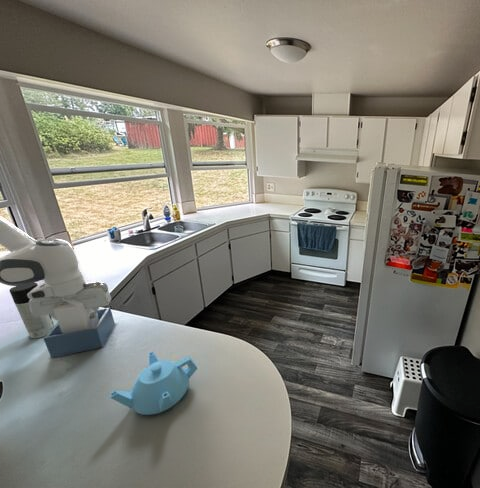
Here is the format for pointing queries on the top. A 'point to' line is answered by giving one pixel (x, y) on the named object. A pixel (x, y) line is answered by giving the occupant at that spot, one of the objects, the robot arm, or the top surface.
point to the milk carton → (74, 316)
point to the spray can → (33, 324)
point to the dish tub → (80, 336)
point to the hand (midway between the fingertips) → (79, 319)
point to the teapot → (157, 386)
